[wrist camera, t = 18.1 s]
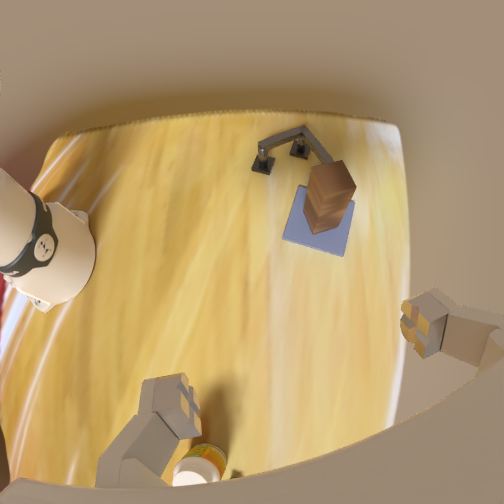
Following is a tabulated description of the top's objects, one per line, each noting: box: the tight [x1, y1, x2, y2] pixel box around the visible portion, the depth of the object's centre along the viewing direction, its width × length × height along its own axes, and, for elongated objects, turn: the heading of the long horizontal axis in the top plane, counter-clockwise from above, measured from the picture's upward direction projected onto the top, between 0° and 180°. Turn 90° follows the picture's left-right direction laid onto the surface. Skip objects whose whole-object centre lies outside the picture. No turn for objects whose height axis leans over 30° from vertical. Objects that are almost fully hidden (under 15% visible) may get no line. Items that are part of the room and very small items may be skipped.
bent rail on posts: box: [251, 125, 334, 175], centre depth 45 cm, size 13×8×6 cm, turn 71°
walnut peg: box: [303, 160, 356, 235], centre depth 38 cm, size 4×4×11 cm
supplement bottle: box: [173, 444, 227, 487], centre depth 28 cm, size 5×5×10 cm
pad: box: [283, 186, 355, 257], centre depth 43 cm, size 9×9×1 cm
